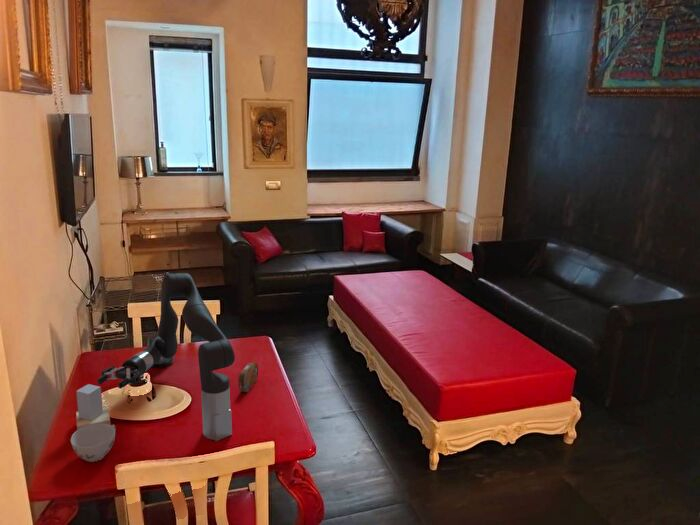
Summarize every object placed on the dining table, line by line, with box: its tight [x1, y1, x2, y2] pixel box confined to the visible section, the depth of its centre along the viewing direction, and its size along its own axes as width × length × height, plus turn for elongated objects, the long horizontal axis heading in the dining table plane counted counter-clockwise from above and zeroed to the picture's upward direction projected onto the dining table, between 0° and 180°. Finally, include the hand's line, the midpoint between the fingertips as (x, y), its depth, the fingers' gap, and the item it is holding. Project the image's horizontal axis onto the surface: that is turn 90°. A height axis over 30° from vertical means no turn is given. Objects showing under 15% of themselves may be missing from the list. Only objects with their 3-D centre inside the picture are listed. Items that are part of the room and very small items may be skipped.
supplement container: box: [146, 333, 175, 369], centre depth 229 cm, size 10×10×12 cm
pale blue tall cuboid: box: [76, 383, 103, 421], centre depth 181 cm, size 5×5×10 cm
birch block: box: [75, 405, 112, 431], centre depth 183 cm, size 10×10×5 cm
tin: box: [237, 362, 259, 393], centre depth 213 cm, size 15×3×8 cm, turn 168°
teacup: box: [70, 424, 116, 463], centre depth 168 cm, size 15×12×8 cm
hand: (108, 384), depth 189 cm, fingers open, 8 cm apart
